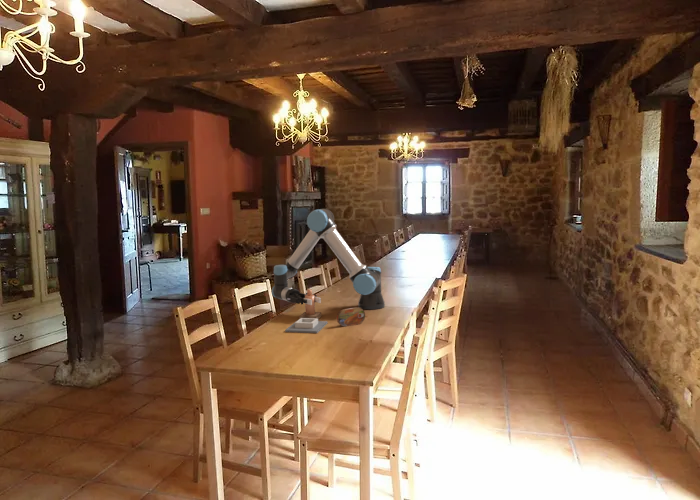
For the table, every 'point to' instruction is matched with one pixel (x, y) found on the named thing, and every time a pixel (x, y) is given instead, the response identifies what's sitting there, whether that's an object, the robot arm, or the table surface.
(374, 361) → the table surface
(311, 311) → the bottle
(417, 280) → the table surface
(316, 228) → the robot arm
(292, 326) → the holder
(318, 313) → the block
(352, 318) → the tin
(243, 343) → the table surface
